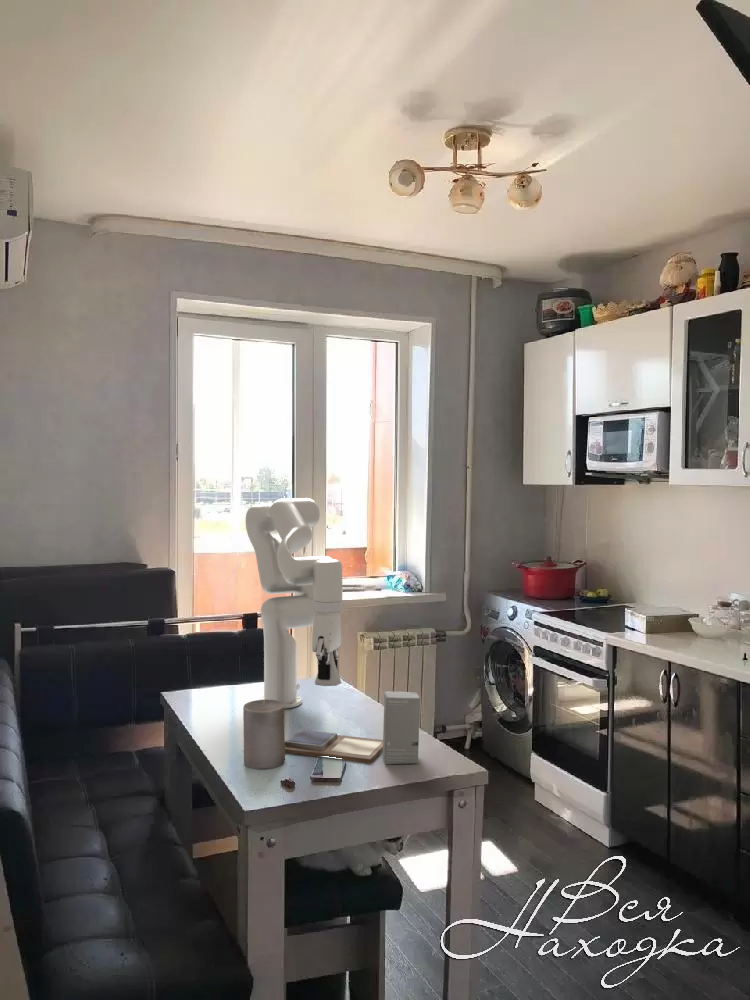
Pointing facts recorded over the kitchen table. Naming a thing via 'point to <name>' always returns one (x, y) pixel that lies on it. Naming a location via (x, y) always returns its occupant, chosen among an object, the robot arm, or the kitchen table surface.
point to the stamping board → (334, 746)
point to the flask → (333, 674)
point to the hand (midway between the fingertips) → (327, 676)
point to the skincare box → (401, 727)
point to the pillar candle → (264, 734)
